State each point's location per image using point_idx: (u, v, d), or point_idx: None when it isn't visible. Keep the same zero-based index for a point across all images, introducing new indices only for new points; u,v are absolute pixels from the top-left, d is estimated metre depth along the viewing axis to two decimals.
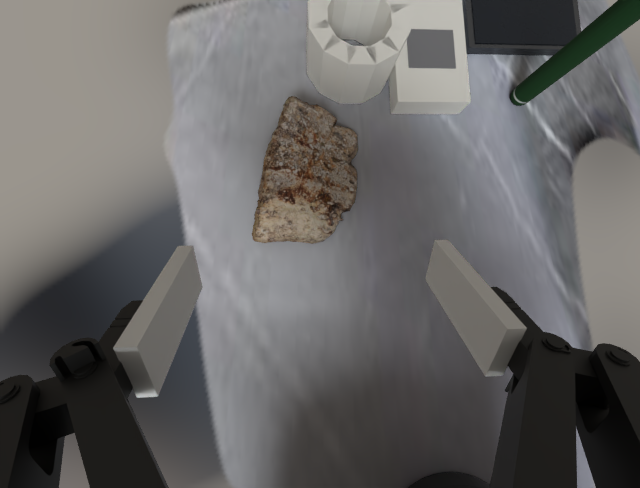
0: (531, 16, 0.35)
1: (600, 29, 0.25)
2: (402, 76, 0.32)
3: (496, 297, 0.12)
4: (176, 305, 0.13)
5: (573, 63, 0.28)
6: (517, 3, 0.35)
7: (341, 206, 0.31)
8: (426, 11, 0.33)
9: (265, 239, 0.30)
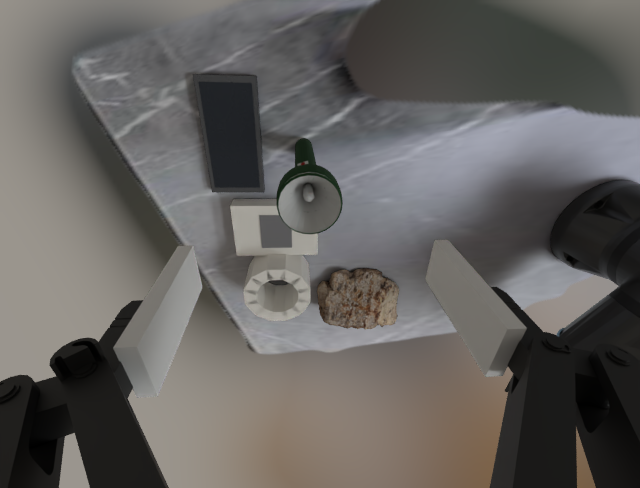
0: (226, 132, 0.37)
1: None
2: (298, 251, 0.45)
3: (496, 297, 0.12)
4: (176, 305, 0.13)
5: None
6: (215, 145, 0.38)
7: (381, 282, 0.50)
8: (245, 233, 0.43)
9: None
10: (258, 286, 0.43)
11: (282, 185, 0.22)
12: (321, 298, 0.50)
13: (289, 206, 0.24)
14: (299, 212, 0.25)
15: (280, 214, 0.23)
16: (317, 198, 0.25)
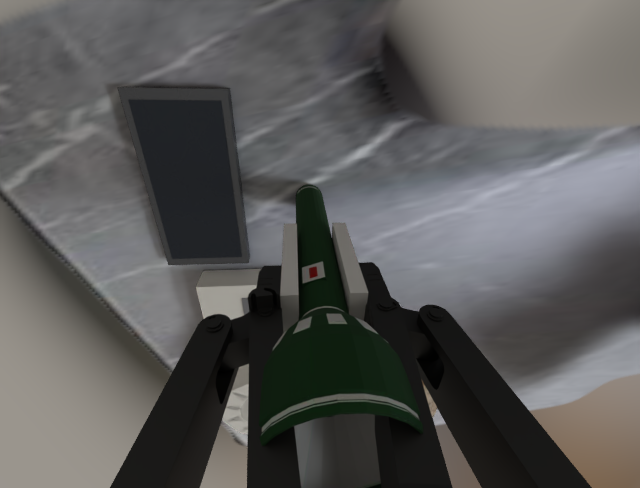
0: (184, 179, 0.23)
1: None
2: None
3: (357, 268, 0.14)
4: None
5: None
6: (167, 198, 0.24)
7: None
8: None
9: (435, 410, 0.40)
10: (242, 401, 0.29)
11: (265, 421, 0.08)
12: None
13: None
14: (310, 423, 0.11)
15: None
16: None
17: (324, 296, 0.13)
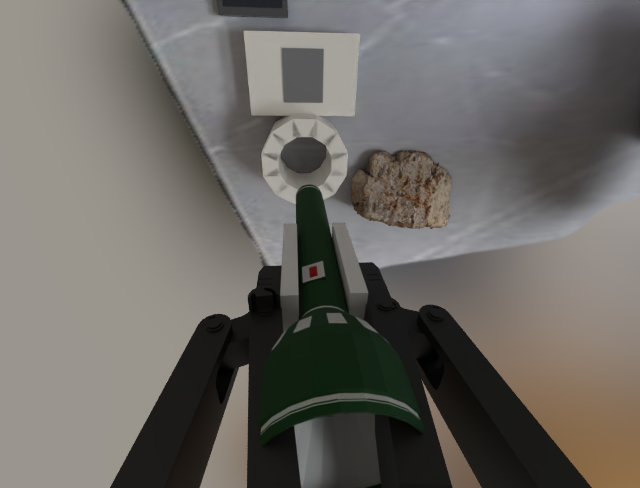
0: None
1: None
2: (330, 109, 0.35)
3: (357, 269, 0.14)
4: None
5: None
6: None
7: (432, 167, 0.41)
8: (262, 77, 0.33)
9: (447, 220, 0.44)
10: (281, 147, 0.33)
11: (265, 420, 0.08)
12: (358, 189, 0.40)
13: None
14: (310, 423, 0.11)
15: None
16: None
17: (324, 295, 0.13)
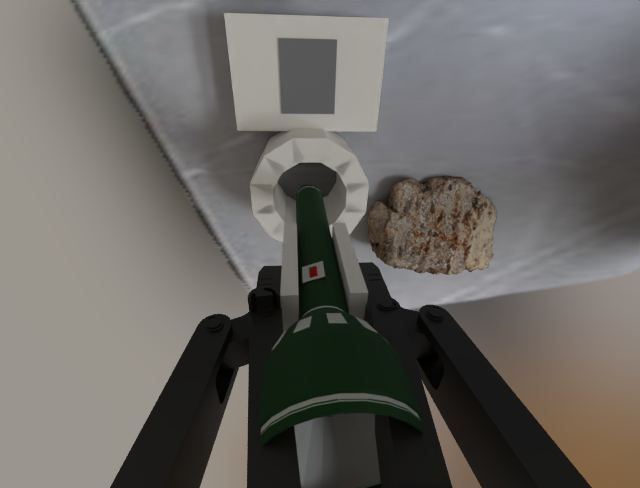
0: None
1: None
2: (344, 123, 0.26)
3: (357, 268, 0.14)
4: None
5: None
6: None
7: (472, 196, 0.31)
8: (252, 80, 0.24)
9: (490, 260, 0.35)
10: (277, 175, 0.24)
11: (265, 420, 0.08)
12: (378, 227, 0.31)
13: None
14: (310, 423, 0.11)
15: None
16: None
17: (325, 295, 0.13)
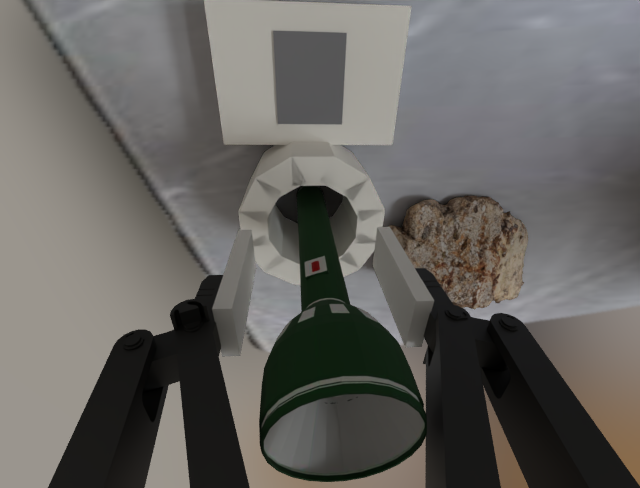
0: None
1: None
2: (354, 135, 0.21)
3: (416, 275, 0.14)
4: (246, 280, 0.15)
5: None
6: None
7: (501, 219, 0.27)
8: (241, 83, 0.19)
9: (519, 289, 0.30)
10: (272, 201, 0.19)
11: (273, 403, 0.08)
12: None
13: None
14: (314, 409, 0.11)
15: (270, 454, 0.09)
16: None
17: (327, 288, 0.13)
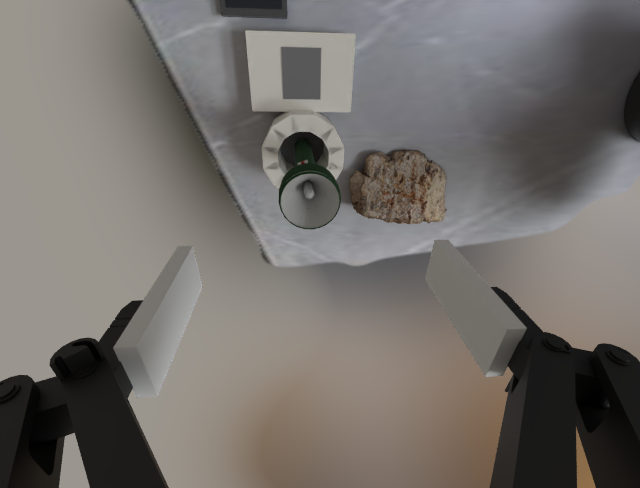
0: None
1: None
2: (328, 106, 0.37)
3: (496, 297, 0.12)
4: (176, 305, 0.13)
5: None
6: None
7: (426, 164, 0.42)
8: (263, 75, 0.34)
9: (444, 214, 0.46)
10: (280, 141, 0.34)
11: (284, 183, 0.24)
12: (356, 189, 0.42)
13: (290, 203, 0.26)
14: (300, 208, 0.26)
15: (282, 210, 0.24)
16: (317, 195, 0.27)
17: None
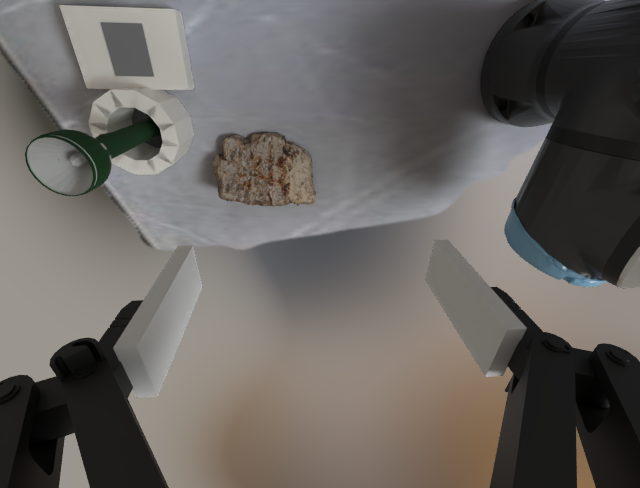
0: None
1: (125, 151, 0.33)
2: (164, 83, 0.37)
3: (496, 297, 0.12)
4: (176, 305, 0.13)
5: (142, 138, 0.35)
6: None
7: (284, 146, 0.43)
8: (89, 51, 0.35)
9: (314, 196, 0.46)
10: (106, 117, 0.35)
11: (29, 148, 0.24)
12: (215, 172, 0.43)
13: (56, 170, 0.26)
14: (71, 177, 0.26)
15: (37, 176, 0.25)
16: None
17: (95, 138, 0.29)
